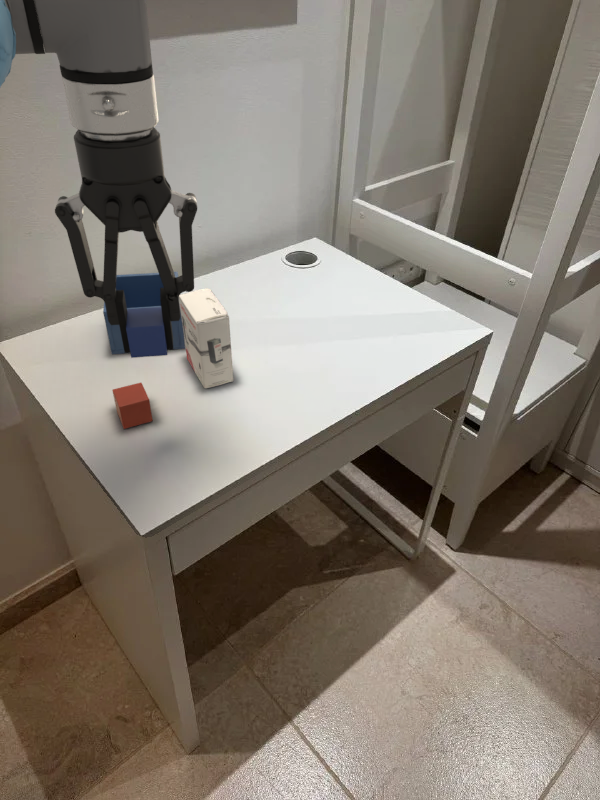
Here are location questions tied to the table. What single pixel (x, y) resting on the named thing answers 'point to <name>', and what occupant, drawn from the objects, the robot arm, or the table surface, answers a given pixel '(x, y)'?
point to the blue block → (146, 332)
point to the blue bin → (141, 306)
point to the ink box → (207, 337)
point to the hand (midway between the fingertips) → (149, 344)
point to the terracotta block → (132, 405)
